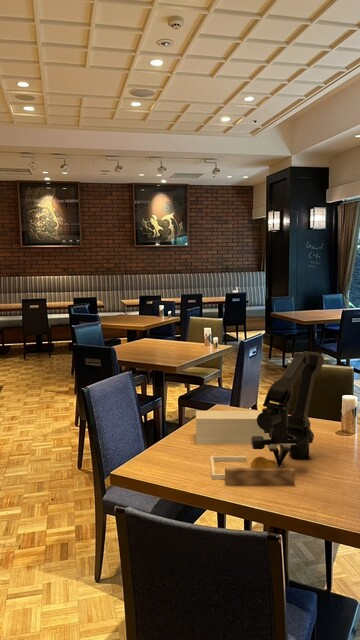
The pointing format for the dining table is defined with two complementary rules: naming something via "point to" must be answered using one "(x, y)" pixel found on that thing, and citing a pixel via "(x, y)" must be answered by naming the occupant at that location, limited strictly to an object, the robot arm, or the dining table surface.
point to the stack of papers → (227, 427)
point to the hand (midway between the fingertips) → (279, 466)
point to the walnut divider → (260, 476)
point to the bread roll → (262, 463)
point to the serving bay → (223, 458)
